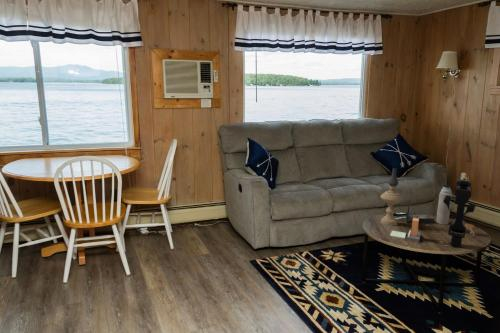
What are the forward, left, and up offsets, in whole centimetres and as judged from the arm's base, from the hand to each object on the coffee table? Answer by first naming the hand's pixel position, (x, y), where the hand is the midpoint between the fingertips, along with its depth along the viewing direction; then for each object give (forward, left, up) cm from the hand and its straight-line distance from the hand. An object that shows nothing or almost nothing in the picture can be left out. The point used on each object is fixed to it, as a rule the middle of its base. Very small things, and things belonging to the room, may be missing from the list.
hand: (456, 212), depth 258 cm
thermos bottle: (+17, 0, -13) cm, 21 cm away
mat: (-11, +42, -13) cm, 46 cm away
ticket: (-15, +34, -13) cm, 39 cm away
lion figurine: (-3, -6, -13) cm, 15 cm away
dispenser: (-15, +34, -13) cm, 39 cm away
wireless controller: (+20, +17, -14) cm, 29 cm away
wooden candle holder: (+13, +40, -13) cm, 44 cm away
